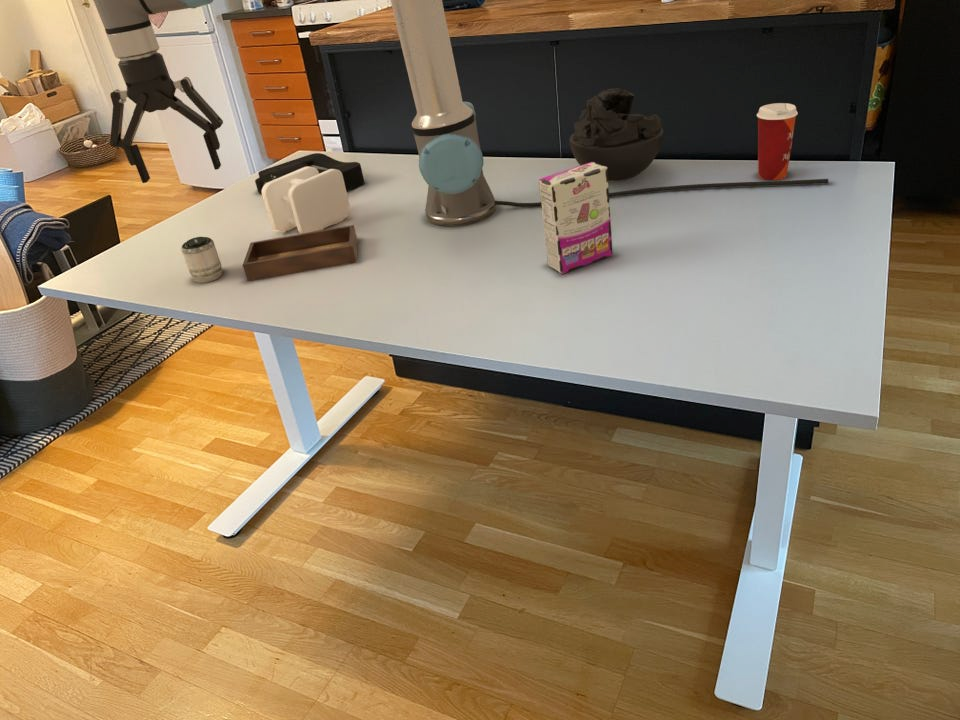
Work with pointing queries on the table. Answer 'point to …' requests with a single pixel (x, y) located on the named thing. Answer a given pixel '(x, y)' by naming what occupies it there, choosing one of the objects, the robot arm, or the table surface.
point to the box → (301, 253)
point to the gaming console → (318, 161)
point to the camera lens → (202, 259)
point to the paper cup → (775, 139)
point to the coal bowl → (616, 135)
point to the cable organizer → (306, 200)
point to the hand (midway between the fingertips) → (182, 174)
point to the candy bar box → (576, 216)
